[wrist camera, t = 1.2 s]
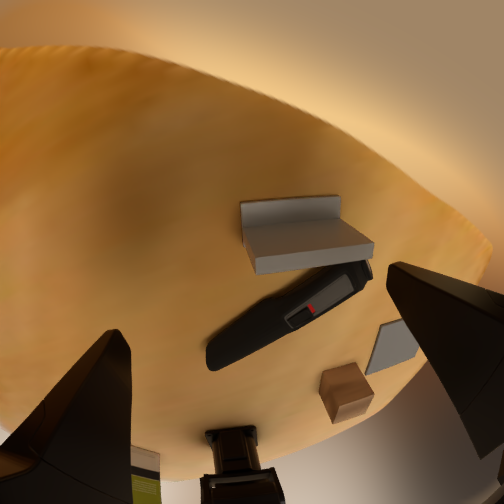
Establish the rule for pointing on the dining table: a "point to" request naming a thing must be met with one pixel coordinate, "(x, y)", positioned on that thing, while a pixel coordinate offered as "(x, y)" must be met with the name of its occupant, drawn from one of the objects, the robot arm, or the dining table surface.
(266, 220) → the gray angled bracket
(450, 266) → the dining table surface
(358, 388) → the walnut block
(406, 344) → the pad
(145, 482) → the tea box
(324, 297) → the electric trimmer
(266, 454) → the dining table surface
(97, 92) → the dining table surface
